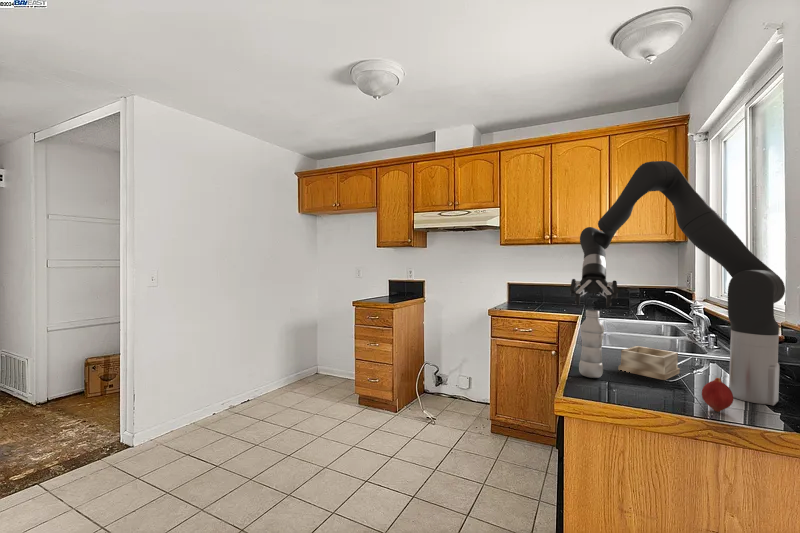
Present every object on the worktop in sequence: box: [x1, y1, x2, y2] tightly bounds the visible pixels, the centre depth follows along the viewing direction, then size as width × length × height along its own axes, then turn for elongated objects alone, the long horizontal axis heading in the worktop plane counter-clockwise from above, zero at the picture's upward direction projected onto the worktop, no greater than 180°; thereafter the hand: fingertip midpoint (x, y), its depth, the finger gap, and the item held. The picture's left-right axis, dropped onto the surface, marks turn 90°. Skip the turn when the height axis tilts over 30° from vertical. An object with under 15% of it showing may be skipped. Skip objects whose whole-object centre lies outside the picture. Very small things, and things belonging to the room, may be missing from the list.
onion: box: [701, 377, 734, 412], centre depth 93 cm, size 6×6×8 cm
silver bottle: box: [578, 309, 605, 379], centre depth 119 cm, size 6×7×20 cm
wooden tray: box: [618, 345, 681, 381], centre depth 126 cm, size 13×13×6 cm
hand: (592, 305), depth 129 cm, fingers open, 8 cm apart
